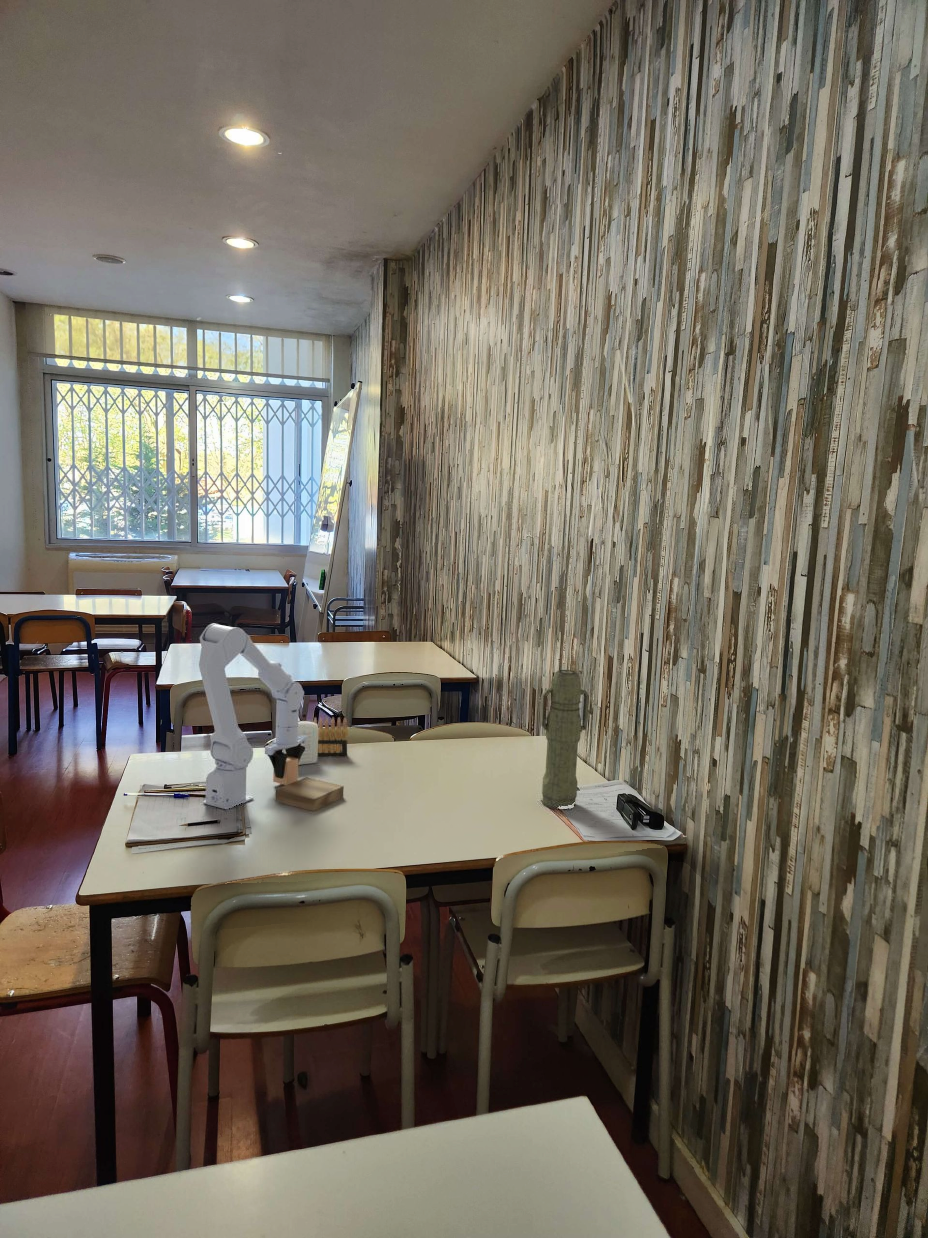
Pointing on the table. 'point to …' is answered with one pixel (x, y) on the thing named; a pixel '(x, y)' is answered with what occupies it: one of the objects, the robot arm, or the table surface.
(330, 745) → the ammunition clip
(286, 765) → the terracotta block
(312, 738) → the white stone tablet
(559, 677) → the thermos
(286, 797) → the walnut plinth
